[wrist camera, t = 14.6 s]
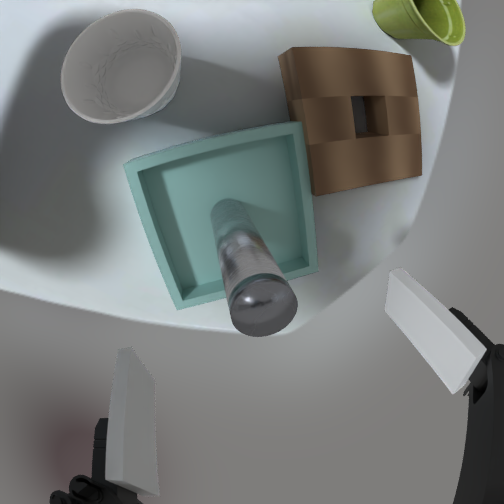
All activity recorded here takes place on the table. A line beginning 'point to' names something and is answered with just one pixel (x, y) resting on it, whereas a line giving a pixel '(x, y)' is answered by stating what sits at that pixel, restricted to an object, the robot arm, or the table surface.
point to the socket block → (341, 115)
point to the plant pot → (421, 19)
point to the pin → (250, 273)
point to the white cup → (122, 67)
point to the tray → (216, 189)
